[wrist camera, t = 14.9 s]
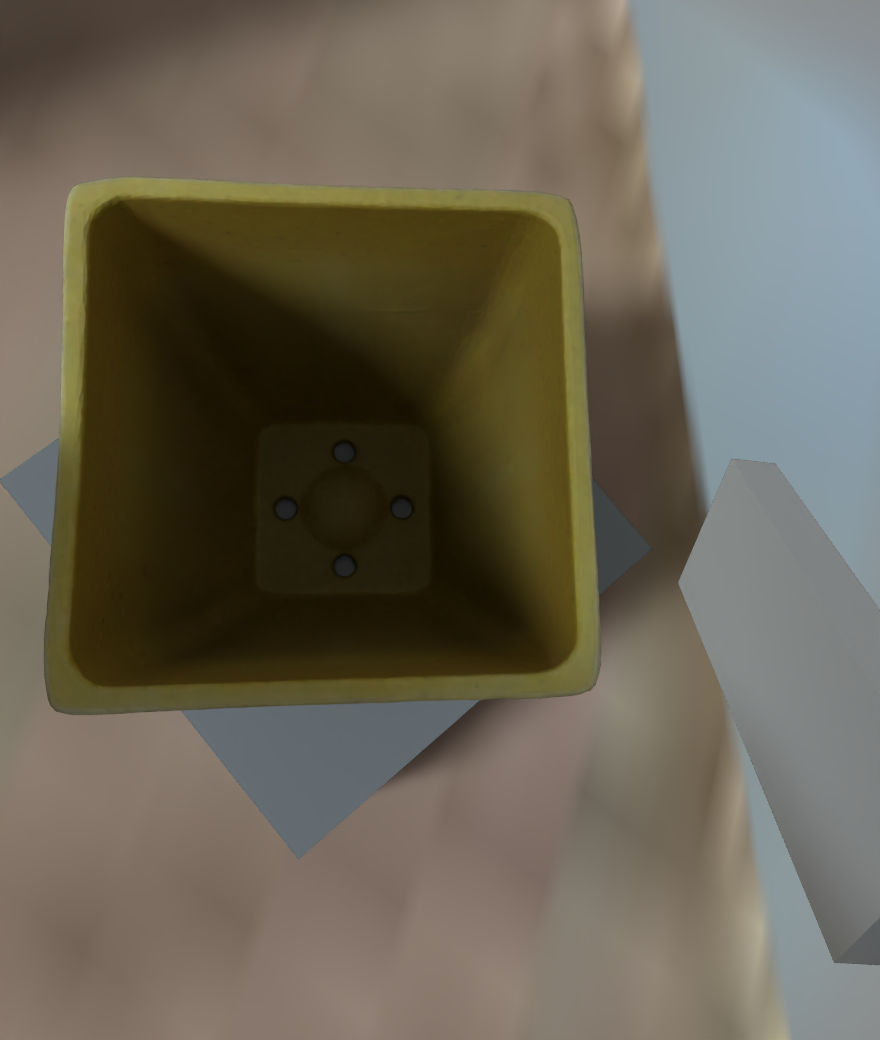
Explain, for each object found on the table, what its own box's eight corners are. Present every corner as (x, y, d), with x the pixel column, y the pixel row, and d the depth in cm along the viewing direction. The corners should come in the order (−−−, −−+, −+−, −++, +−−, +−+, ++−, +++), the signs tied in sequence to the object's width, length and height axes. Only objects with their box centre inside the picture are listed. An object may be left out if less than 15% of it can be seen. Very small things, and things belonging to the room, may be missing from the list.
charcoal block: (312, 812, 24) (298, 859, 19) (71, 509, 25) (-2, 479, 20) (598, 563, 26) (652, 549, 22) (371, 291, 27) (371, 216, 22)
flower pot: (504, 669, 21) (609, 699, 12) (183, 678, 20) (33, 718, 11) (493, 367, 22) (580, 189, 13) (191, 364, 21) (63, 170, 12)
